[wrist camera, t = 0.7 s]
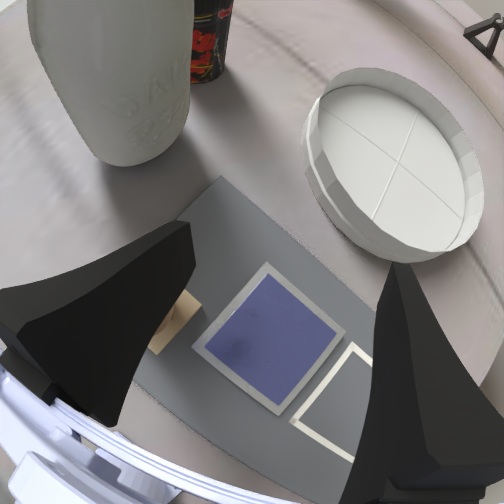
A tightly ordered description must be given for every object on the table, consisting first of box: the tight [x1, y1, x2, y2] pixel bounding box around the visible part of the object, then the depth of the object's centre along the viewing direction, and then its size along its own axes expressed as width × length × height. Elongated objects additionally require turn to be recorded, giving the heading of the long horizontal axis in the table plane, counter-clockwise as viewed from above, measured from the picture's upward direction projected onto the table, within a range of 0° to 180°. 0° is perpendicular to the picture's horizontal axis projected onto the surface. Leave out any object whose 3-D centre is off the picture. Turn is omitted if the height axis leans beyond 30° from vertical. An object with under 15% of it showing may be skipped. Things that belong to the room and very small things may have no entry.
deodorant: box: [190, 0, 234, 84], centre depth 23 cm, size 6×6×15 cm
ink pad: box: [191, 261, 346, 416], centre depth 24 cm, size 9×9×2 cm
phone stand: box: [463, 13, 504, 60], centre depth 41 cm, size 9×6×12 cm, turn 54°
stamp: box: [148, 289, 202, 355], centre depth 20 cm, size 5×5×9 cm
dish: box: [300, 68, 484, 263], centre depth 30 cm, size 22×22×5 cm
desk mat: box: [133, 176, 376, 504], centre depth 25 cm, size 18×30×1 cm, turn 49°
